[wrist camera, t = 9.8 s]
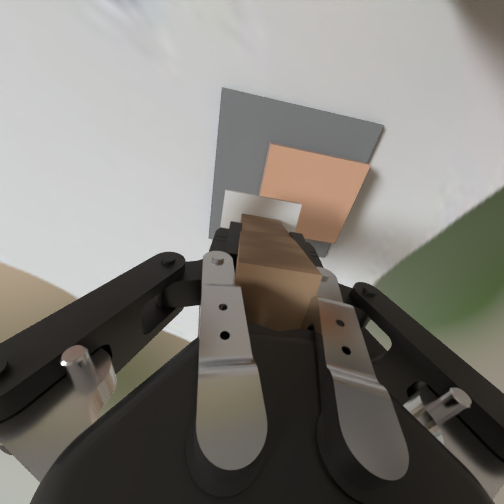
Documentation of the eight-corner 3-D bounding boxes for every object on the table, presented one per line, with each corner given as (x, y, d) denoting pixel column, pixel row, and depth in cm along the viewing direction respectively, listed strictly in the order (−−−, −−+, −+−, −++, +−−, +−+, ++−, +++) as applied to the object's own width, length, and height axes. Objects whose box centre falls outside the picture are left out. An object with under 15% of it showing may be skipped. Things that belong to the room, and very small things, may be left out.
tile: (269, 141, 22) (360, 161, 23) (253, 221, 26) (329, 234, 27) (271, 144, 20) (370, 165, 21) (252, 229, 25) (334, 243, 25)
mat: (380, 124, 21) (383, 125, 21) (323, 255, 30) (324, 257, 29) (222, 88, 20) (221, 87, 19) (209, 236, 28) (208, 238, 28)
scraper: (298, 203, 17) (378, 242, 7) (282, 268, 19) (325, 374, 9) (226, 189, 17) (198, 210, 7) (216, 258, 19) (183, 358, 9)
